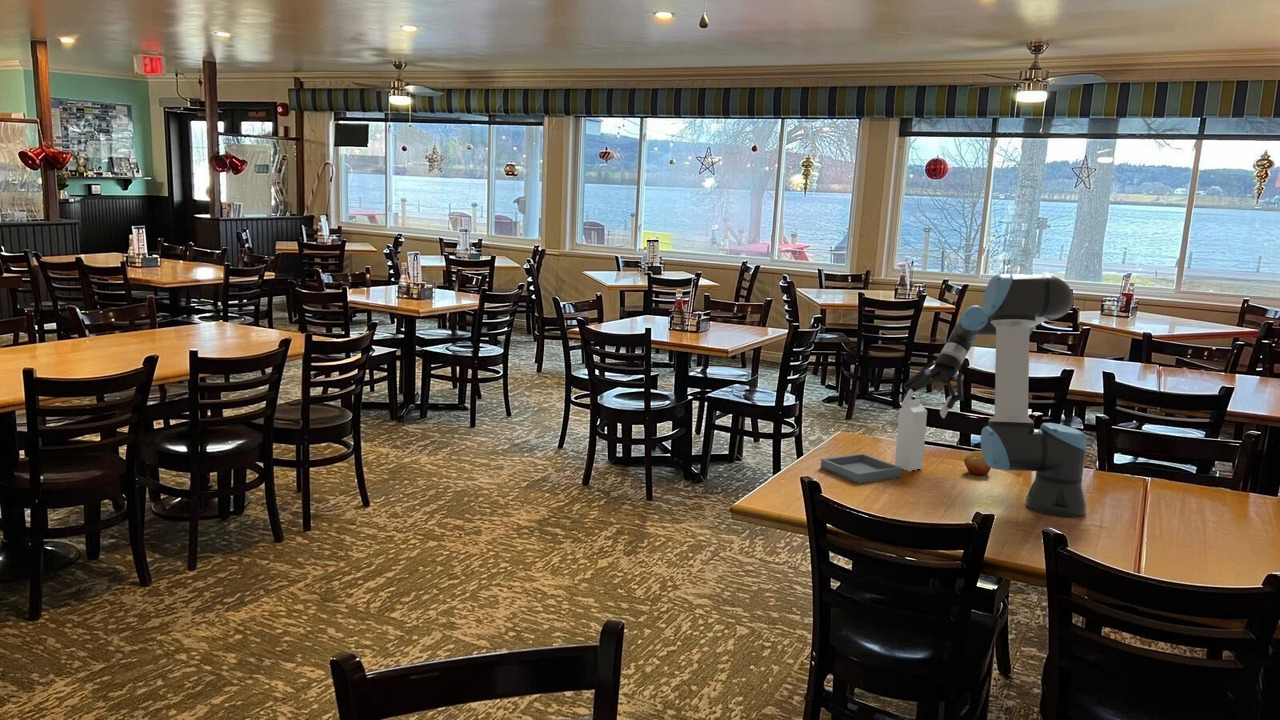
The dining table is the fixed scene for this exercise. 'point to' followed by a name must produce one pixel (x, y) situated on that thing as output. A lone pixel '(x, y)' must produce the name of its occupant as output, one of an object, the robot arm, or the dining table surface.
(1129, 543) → the dining table surface
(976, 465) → the fruit
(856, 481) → the tray
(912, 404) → the milk
